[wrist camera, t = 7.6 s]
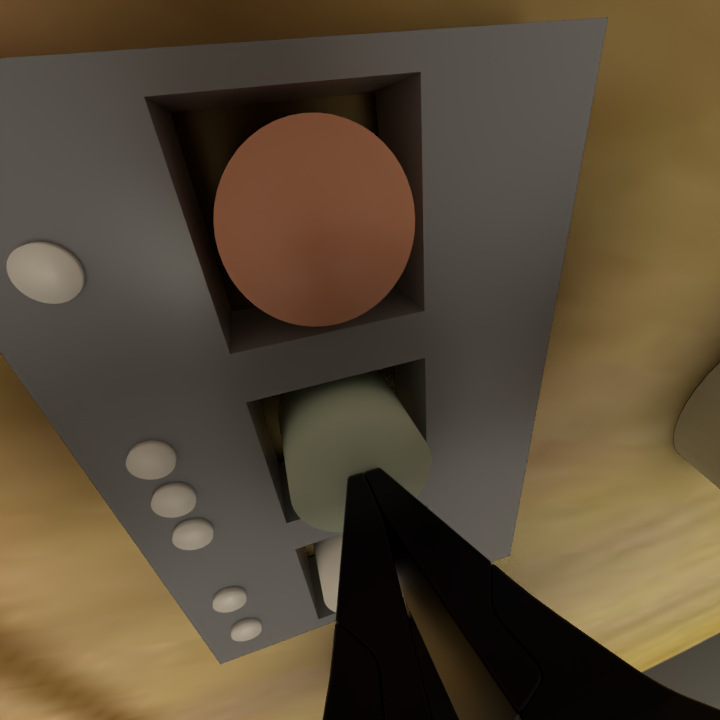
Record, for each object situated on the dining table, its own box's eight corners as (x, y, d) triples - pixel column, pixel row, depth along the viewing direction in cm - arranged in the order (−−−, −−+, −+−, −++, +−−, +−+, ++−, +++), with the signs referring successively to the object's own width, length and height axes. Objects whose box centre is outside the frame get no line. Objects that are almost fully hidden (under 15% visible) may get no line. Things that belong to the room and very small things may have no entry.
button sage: (393, 437, 13) (431, 506, 10) (291, 466, 12) (305, 548, 10) (386, 347, 11) (431, 404, 8) (265, 376, 10) (274, 448, 8)
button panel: (477, 507, 18) (512, 559, 15) (222, 595, 15) (220, 670, 13) (520, 49, 9) (617, 13, 7) (-60, 97, 7) (-216, 68, 4)
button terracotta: (373, 269, 10) (417, 306, 8) (244, 294, 10) (246, 344, 7) (360, 116, 8) (412, 100, 6) (199, 134, 8) (180, 126, 5)
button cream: (395, 524, 16) (424, 592, 14) (317, 551, 16) (331, 626, 13) (390, 467, 14) (423, 533, 12) (300, 494, 14) (315, 571, 11)
